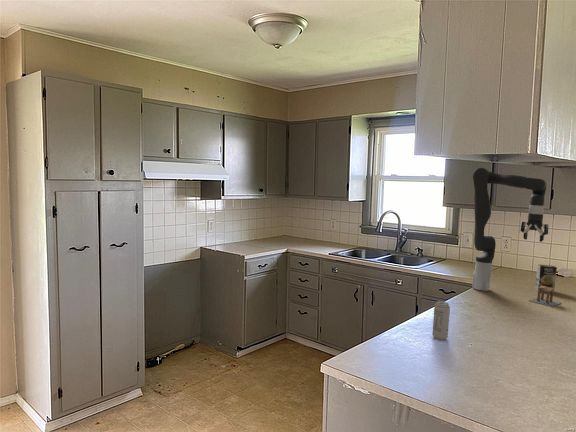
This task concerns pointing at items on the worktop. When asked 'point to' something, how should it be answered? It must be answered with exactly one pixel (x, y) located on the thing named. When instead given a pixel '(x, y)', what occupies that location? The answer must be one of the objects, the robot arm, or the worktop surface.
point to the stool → (547, 293)
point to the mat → (545, 302)
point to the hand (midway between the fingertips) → (533, 240)
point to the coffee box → (545, 276)
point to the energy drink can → (441, 320)
